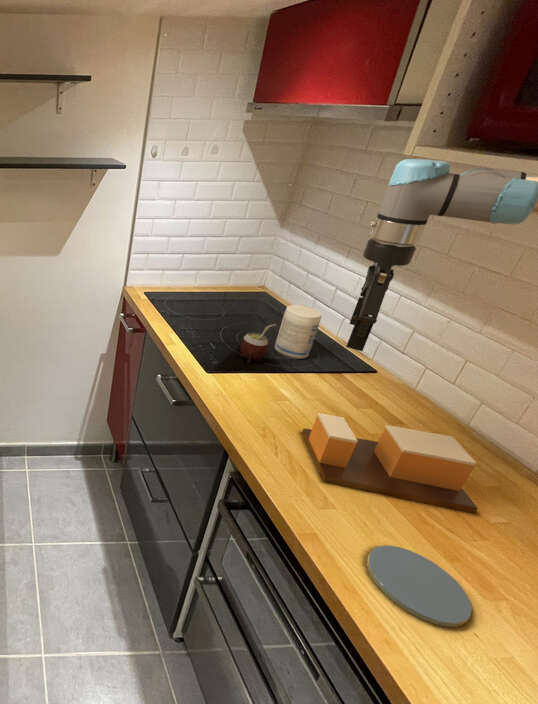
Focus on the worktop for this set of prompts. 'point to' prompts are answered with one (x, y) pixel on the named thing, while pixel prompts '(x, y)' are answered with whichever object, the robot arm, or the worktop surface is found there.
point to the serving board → (386, 479)
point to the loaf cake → (424, 457)
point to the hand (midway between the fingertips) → (355, 336)
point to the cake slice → (332, 440)
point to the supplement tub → (297, 331)
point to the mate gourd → (254, 346)
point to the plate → (419, 586)
